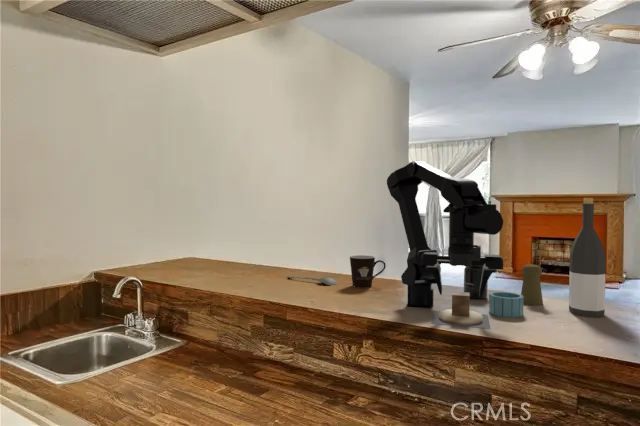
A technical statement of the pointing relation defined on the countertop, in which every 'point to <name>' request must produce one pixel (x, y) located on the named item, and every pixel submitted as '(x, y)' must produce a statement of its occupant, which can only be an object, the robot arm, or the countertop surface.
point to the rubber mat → (483, 324)
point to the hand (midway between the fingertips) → (460, 295)
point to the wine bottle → (587, 269)
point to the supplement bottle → (474, 281)
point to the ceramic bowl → (506, 304)
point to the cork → (532, 285)
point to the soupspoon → (324, 280)
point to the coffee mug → (363, 270)
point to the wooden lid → (460, 311)
